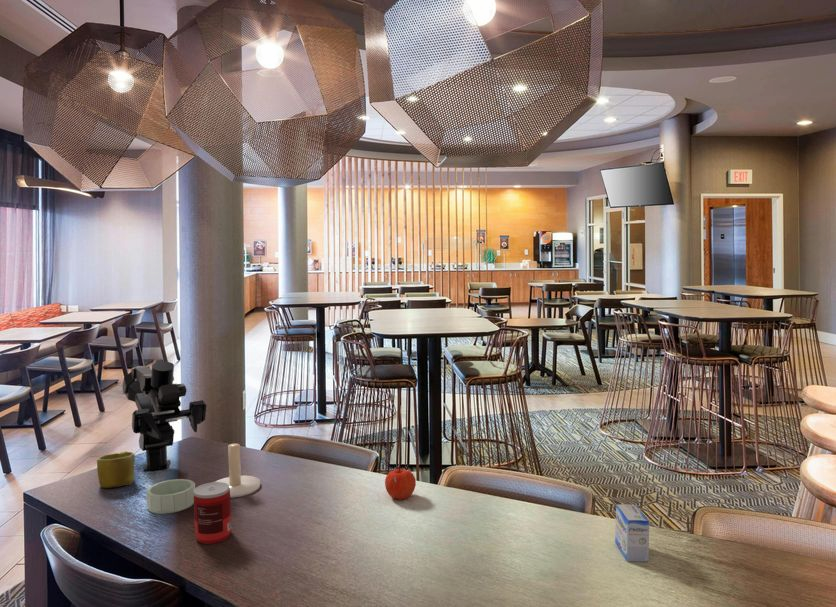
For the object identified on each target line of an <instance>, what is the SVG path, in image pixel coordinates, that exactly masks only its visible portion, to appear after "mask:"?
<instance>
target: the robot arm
mask: <svg viewBox="0 0 836 607" xmlns="http://www.w3.org/2000/svg"><path fill="white" fill-rule="evenodd" d="M174 368H175V364H174V363H172V362H170V361H166V360H164V359H156V360H155V362H154V363H152V364H151V368H150V366H149V365H139V366H134V367H131V371H130V372H129V373H128V374H126V375H125V376H124V377H123V382H122V392H123V395H125V397H126V399H127V400H128V401H132V402H134V403H135V406H136V408H137V409H136V410H134V411H133V412H132V414H131V415H132V417H131V419H132V420H131V428H132V429H131V430H132V431H133V433H134V434H139V438H138V444H139V448H140V449H141V451H142V452H145V463H146V464H145V465H144V467H143V472H147V471H155V470H166V469H168V467H169V465H170V463H171V459H170V460H168V450H167V448H168V447H169V446H170V447H171V446H173V445H174V437H175V429H174V427H173V426H172V425H171V424H170V423H173V422H177V421H178V420H185V419H188V421H189V425H190V427H191V429H192V431H193V432H194V433H197V432H198V425H200V424H201V423H203V422H205V420H206V413H207V407H208V406H207V404H206V402H205V401H204V399H203V400H196V401H190V402H188V403H189V405H188V408H187V409H182V410H180V408H179V407H181V406H182V405H181V404H182V403H181V402H182V401H181V400H180V398H181V397H185V396H186V395H187V387H186V385H185V383H174V381H175V377H174V376H175V375H174V372H175V369H174Z"/></svg>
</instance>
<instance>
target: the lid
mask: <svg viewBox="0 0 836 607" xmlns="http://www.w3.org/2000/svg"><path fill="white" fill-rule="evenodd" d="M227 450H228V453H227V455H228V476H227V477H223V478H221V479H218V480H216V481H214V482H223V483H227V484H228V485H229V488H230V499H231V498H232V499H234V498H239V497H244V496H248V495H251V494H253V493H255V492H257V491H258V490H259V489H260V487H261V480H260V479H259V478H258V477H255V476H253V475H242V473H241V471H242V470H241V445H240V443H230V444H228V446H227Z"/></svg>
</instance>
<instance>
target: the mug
mask: <svg viewBox="0 0 836 607" xmlns="http://www.w3.org/2000/svg"><path fill="white" fill-rule="evenodd" d="M135 458H136V457H135V453H134V452H132V451H126V450H125V451H120V452H119V453H118V452H116V453H110V454H104V455H101V456H99V457H97V458H96V468H97V478H98V484H99V486H100V487H101V488H102V489H113V488H119V487H123V486H124V487H125V486H129V485H131V484H132V483H133V482H134V481H135V460H136V459H135Z"/></svg>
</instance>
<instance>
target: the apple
mask: <svg viewBox="0 0 836 607" xmlns="http://www.w3.org/2000/svg"><path fill="white" fill-rule="evenodd" d="M416 484H417V482H416V477H415V475H414V474H413V472H411V471H410V470H408V469H402V468H401V467H400V466H398V468H396V469H394V470H392V471H389V473H387V475H386V476H385V479H384V487H385V491H386V492H387V494H388V495H389V497H391V498H393V499H396V500H405V499H407V498H409V497H410V496H412V494H413V493H414V492H415V488H416Z"/></svg>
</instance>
